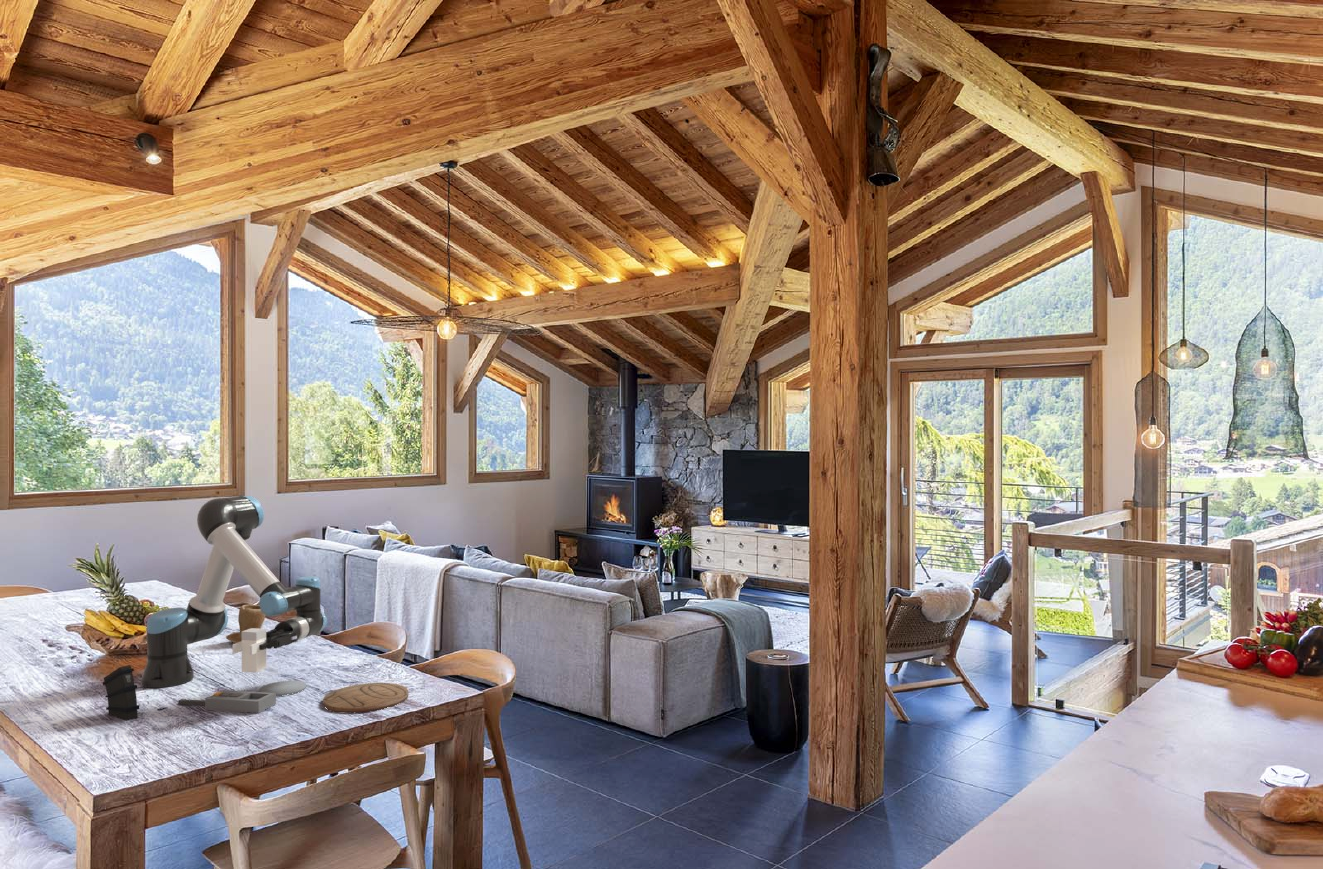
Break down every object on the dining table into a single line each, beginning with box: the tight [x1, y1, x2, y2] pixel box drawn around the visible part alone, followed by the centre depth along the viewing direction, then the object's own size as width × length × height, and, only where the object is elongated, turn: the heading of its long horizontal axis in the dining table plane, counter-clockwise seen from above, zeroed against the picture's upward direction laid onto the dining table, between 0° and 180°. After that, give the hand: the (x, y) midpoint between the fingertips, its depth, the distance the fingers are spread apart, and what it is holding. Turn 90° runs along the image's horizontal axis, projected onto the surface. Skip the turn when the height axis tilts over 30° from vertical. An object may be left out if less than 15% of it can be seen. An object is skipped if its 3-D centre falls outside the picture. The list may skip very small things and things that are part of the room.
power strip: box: [178, 689, 277, 714], centre depth 259 cm, size 30×8×4 cm, turn 79°
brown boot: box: [225, 604, 267, 644], centre depth 337 cm, size 15×12×15 cm
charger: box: [241, 628, 267, 674], centre depth 257 cm, size 5×4×12 cm
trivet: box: [322, 682, 409, 714], centre depth 264 cm, size 25×25×2 cm
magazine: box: [102, 664, 140, 721], centre depth 251 cm, size 4×13×15 cm, turn 58°
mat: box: [257, 680, 307, 697], centre depth 274 cm, size 14×14×1 cm
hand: (242, 649), depth 252 cm, fingers closed on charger, 5 cm apart
